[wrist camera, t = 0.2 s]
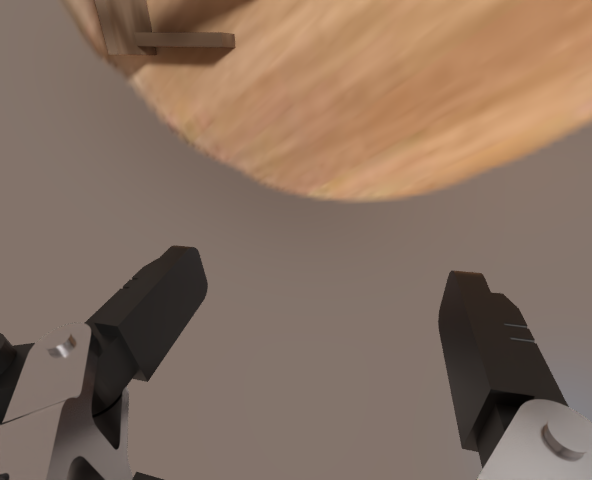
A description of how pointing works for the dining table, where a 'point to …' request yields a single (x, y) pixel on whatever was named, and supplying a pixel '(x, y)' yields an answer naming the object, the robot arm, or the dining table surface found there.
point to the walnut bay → (146, 30)
